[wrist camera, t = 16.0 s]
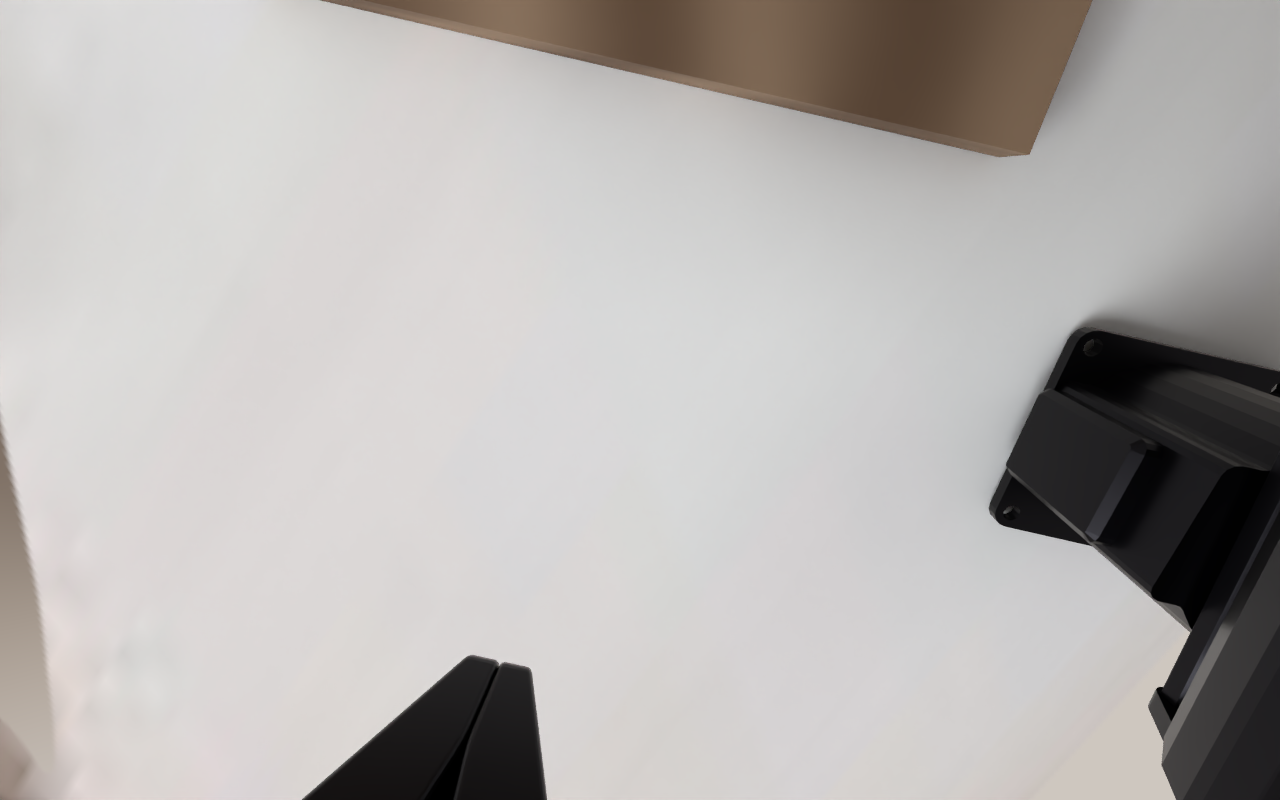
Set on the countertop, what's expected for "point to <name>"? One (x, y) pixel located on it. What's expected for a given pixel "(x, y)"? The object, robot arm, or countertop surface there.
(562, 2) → the bolt board
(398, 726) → the robot arm
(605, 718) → the countertop surface
